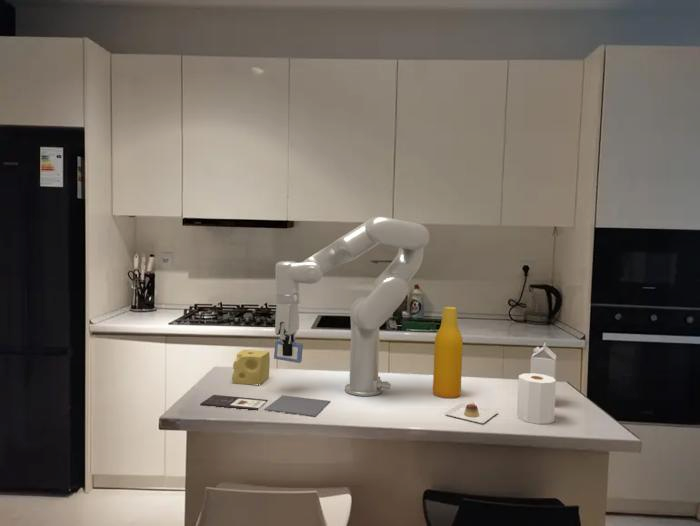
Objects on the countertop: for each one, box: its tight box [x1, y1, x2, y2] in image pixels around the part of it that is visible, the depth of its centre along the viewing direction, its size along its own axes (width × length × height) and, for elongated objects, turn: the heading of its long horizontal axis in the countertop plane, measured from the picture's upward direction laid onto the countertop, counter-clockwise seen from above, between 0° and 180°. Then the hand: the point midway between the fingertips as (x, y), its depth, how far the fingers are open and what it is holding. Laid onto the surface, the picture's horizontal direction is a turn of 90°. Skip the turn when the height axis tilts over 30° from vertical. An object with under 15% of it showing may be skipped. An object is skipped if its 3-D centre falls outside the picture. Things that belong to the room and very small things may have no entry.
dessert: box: [444, 400, 499, 425], centre depth 158 cm, size 12×12×5 cm
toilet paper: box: [516, 372, 557, 425], centre depth 156 cm, size 10×10×12 cm
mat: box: [263, 394, 331, 418], centre depth 161 cm, size 16×14×1 cm
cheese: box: [231, 349, 271, 386], centre depth 187 cm, size 10×11×10 cm
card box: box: [273, 339, 304, 364], centre depth 175 cm, size 9×2×6 cm, turn 74°
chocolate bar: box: [199, 394, 269, 411], centre depth 163 cm, size 9×1×18 cm
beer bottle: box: [432, 306, 464, 399], centre depth 176 cm, size 9×9×29 cm
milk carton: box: [529, 341, 557, 380], centre depth 171 cm, size 7×7×19 cm
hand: (288, 354), depth 175 cm, fingers closed on card box, 1 cm apart
